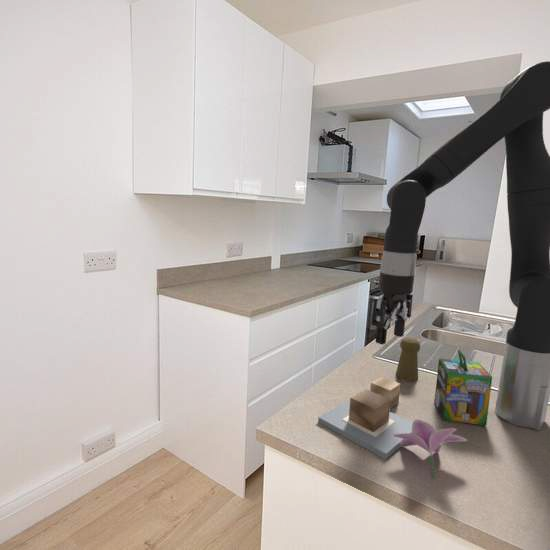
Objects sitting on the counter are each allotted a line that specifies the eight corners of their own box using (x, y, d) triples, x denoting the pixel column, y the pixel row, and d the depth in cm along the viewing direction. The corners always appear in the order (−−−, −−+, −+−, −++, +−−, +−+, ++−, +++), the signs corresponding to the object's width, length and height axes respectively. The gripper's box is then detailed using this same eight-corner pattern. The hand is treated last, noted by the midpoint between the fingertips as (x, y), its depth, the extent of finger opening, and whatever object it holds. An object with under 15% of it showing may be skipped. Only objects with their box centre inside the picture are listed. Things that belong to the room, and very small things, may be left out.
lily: (474, 475, 66) (465, 418, 70) (465, 486, 57) (454, 420, 60) (407, 469, 73) (401, 417, 76) (388, 478, 63) (383, 418, 67)
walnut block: (388, 421, 78) (390, 399, 77) (373, 432, 74) (375, 409, 73) (364, 409, 82) (366, 389, 81) (348, 419, 78) (350, 397, 77)
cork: (395, 379, 101) (399, 341, 100) (395, 370, 107) (399, 334, 105) (419, 383, 100) (423, 344, 98) (417, 374, 105) (421, 337, 104)
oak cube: (398, 403, 89) (400, 383, 88) (388, 410, 85) (390, 390, 84) (379, 395, 92) (381, 376, 91) (369, 401, 89) (371, 382, 88)
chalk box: (486, 427, 80) (496, 363, 77) (441, 421, 82) (450, 358, 79) (473, 405, 89) (481, 347, 86) (432, 400, 91) (440, 343, 88)
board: (419, 430, 78) (419, 424, 77) (385, 459, 68) (386, 452, 68) (354, 400, 89) (355, 395, 89) (318, 422, 79) (318, 416, 79)
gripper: (397, 277, 76) (389, 351, 79) (427, 271, 86) (418, 337, 88) (365, 271, 81) (359, 341, 84) (397, 266, 91) (390, 329, 94)
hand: (389, 339), depth 86 cm, fingers open, 8 cm apart
